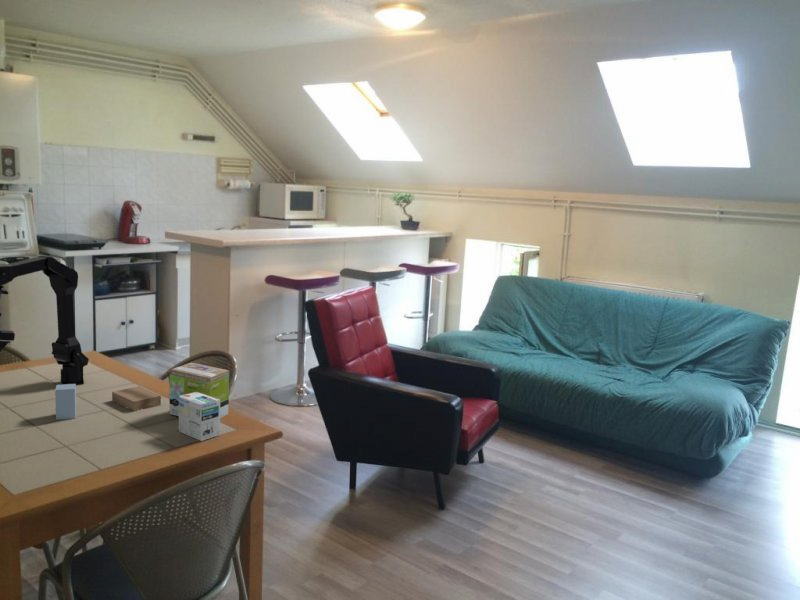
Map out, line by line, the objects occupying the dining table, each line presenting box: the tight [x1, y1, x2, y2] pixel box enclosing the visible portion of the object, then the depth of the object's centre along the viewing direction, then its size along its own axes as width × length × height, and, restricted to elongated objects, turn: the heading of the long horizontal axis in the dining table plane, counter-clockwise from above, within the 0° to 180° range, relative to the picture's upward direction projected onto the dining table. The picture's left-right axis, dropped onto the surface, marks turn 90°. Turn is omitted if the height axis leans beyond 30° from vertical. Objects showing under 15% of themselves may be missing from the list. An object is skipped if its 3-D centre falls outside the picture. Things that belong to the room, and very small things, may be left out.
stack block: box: [111, 386, 162, 412], centre depth 209 cm, size 9×13×4 cm
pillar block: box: [54, 383, 77, 421], centre depth 194 cm, size 5×5×9 cm
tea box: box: [168, 361, 230, 419], centre depth 201 cm, size 15×10×15 cm, turn 68°
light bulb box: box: [178, 392, 221, 442], centre depth 187 cm, size 11×7×11 cm, turn 54°
